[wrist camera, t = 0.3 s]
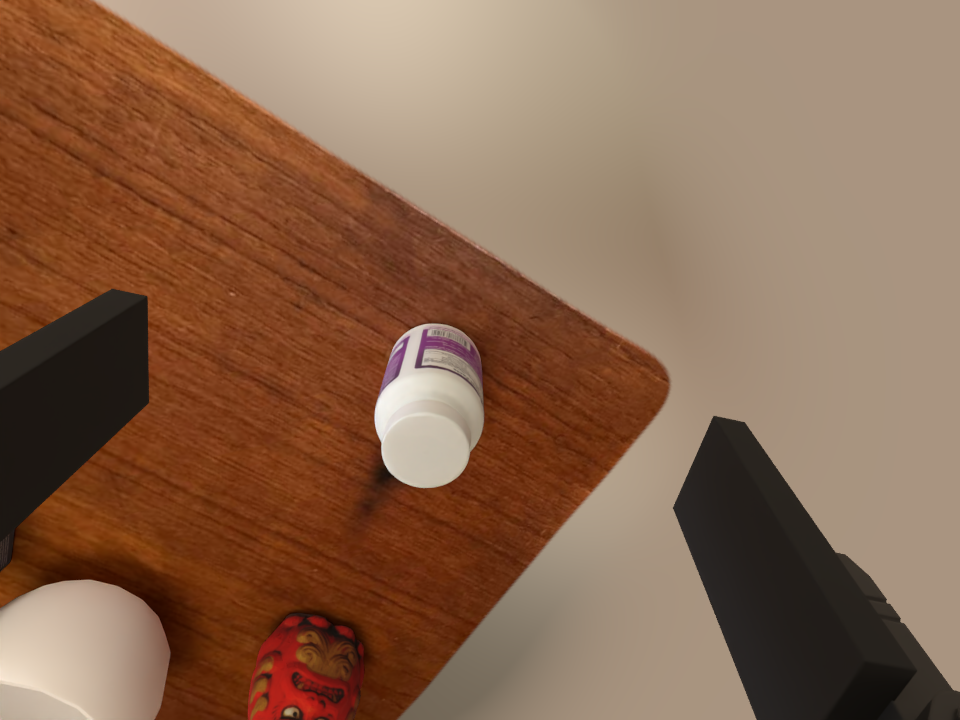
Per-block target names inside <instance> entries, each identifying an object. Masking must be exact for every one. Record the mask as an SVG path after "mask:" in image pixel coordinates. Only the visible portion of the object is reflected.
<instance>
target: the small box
mask: <svg viewBox="0 0 960 720" xmlns="http://www.w3.org/2000/svg"><path fill="white" fill-rule="evenodd" d="M14 531H15V529H14V530H13V531H12V532H11V533H10V534H9V535H8V536H7V537H6V538H4V539H3V540H2V541H1V542H0V572H1V571H2V570H3V569H4V568H5V567H6V566H7V565H8V564H9V563H10V561H11V556H12V549H13V539H14Z"/></svg>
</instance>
